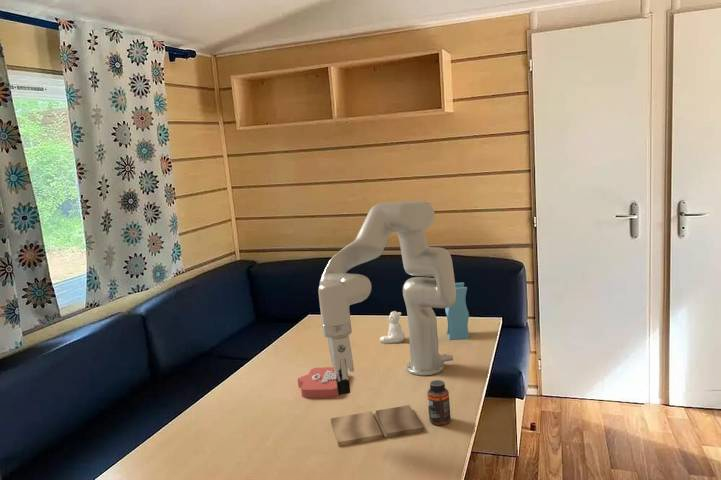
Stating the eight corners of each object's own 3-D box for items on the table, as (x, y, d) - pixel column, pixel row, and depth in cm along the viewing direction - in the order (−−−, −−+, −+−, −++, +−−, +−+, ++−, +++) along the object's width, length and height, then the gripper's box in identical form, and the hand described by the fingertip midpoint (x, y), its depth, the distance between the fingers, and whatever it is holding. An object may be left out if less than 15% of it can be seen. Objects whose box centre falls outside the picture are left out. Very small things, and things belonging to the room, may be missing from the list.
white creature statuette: (392, 335, 241) (389, 306, 239) (410, 338, 236) (408, 308, 234) (378, 343, 233) (376, 313, 231) (397, 346, 228) (395, 315, 226)
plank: (372, 415, 175) (371, 411, 174) (382, 438, 161) (382, 434, 161) (330, 422, 173) (330, 418, 172) (338, 446, 159) (337, 442, 159)
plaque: (303, 366, 207) (346, 365, 205) (304, 376, 208) (347, 375, 206) (290, 388, 190) (337, 387, 188) (291, 399, 191) (338, 399, 188)
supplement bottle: (452, 416, 170) (450, 378, 168) (448, 427, 164) (446, 388, 162) (431, 415, 172) (429, 377, 170) (427, 425, 166) (424, 386, 164)
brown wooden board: (409, 408, 177) (409, 405, 176) (423, 431, 163) (422, 427, 163) (373, 414, 175) (373, 411, 174) (384, 438, 161) (383, 433, 161)
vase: (470, 338, 230) (467, 287, 226) (449, 340, 230) (446, 289, 226) (466, 331, 237) (464, 282, 234) (446, 333, 238) (443, 283, 234)
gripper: (356, 335, 152) (363, 402, 156) (346, 317, 166) (352, 379, 170) (326, 340, 151) (334, 407, 154) (319, 321, 165) (326, 383, 169)
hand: (344, 392), depth 162 cm, fingers closed
